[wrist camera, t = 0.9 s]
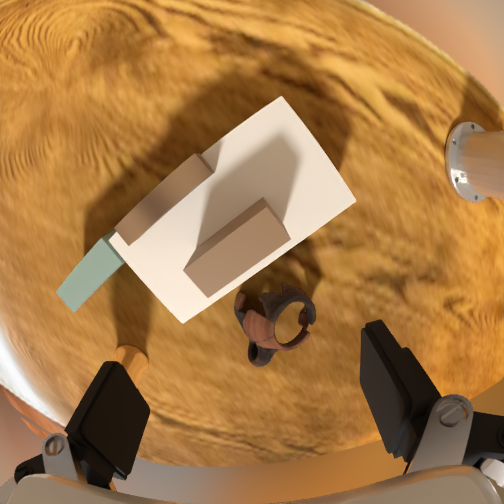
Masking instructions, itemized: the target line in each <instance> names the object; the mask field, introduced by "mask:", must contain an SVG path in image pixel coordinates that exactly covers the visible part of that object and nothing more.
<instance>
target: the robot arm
mask: <svg viewBox="0 0 504 504" xmlns="http://www.w3.org/2000/svg"><path fill="white" fill-rule="evenodd" d="M445 162H446V169H447V173H448V177H449V180H450V182H451V185H452V186H453V188H454V190H455V191H456V193H457V194H458V195H459V196H460V197H461V198H463V199H465V200H466V201H470V202H480V201H482V200H484V199H485V198H486V197H487V196H489V197H492V198H496V199H499V200H502V201H504V132H503V131H502V130H500V131H485V130H484V129H483V128H482V127H481V126H480V125H478V124H476V123H474V122H469V121H467V122H461V123H458V124H457V125H456V126H455V127H454V128H453V129H452V130H451V132H450V134H449V136H448V140H447V143H446V150H445ZM360 384H361V387H362V390H363V392H364V395H365V397H366V399H367V402H368V404H369V407H370V409H371V412H372V414H373V417H374V419H375V422H376V425H377V427H378V430H379V432H380V435H381V438H382V440H383V442H384V445H385V448H386V451H387V452H388V453H389V454H390V453H393V455H394V458H398V457H400V456H402V457H403V459H404V461H405V462H407V464H406V467H405V469H404V471H403V473H402V475H401V476H397V477H395V478H391V479H388V480H385V481H381V482H377V483H374V484H370V485H367V486H363V487H360V488H356V489H352V490H348V491H344V492H340V493H335V494H330V495H325V496H320V497H315V498H309V499H303V500H296V501H289V502H280V503H270V504H502V501H501V499H500V498H499V496H498V494H497V492H496V490H495V488H494V487H493V485H492V484H491V482H490V481H489V479H488V478H492V479H494V480H496V481H497V485H499V486H501V487H502V488H503V489H504V416H498V415H492V414H486V413H480V412H475V411H473V407H472V404H471V402H470V401H469V400H468V399H467V398H465V397H464V396H461V395H458V394H450V395H446V396H444V397H442V396H441V395H440V393H439V392H438V390H437V389H436V387H435V386H434V384H433V383H432V381H431V379H430V378H429V376H428V375H427V374H426V372H425V371H424V369H423V368H422V366H421V365H420V363H419V362H418V360H417V359H416V357H415V356H414V355H413V353H412V352H411V350H410V349H409V348H407V347H405V348H401V347H400V345H399V344H398V342H397V341H396V339H395V338H394V337H393V335H392V334H391V332H390V331H389V329H388V328H387V327H386V325H385V324H384V322H383V321H382V320H376V321H373V322H369V323H366V325H365V328H362V329H361V360H360ZM149 415H150V408H149V406H148V404H147V403H146V401H145V400H144V398H143V397H142V395H141V394H140V392H139V390H138V389H137V387H136V386H135V384H134V383H133V381H132V379H131V378H130V376H129V374H128V373H127V371H126V369H125V368H124V366H123V365H122V364H120V363H119V362H118V361H106V362H104V363H103V365H102V366H101V368H100V370H99V371H98V373H97V374H96V376H95V378H94V379H93V381H92V383H91V384H90V386H89V388H88V389H87V391H86V393H85V395H84V396H83V398H82V400H81V401H80V403H79V405H78V407H77V408H76V410H75V412H74V414H73V415H72V417H71V419H70V421H69V423H68V425H67V426H66V428H65V430H64V431H65V432H66V433H67V434H68V436H67V437H66V436H65V435H64V434H62V433H54V434H51V435H50V436H48V437H47V438H46V439H45V441H44V442H43V446H42V454H40V455H38V456H36V457H33V458H31V459H29V460H27V461H25V462H22V463H21V464H19V465H18V466H17V467H16V470H15V473H14V477H12V478H10V479H9V480H8V481H7V482H6V483H4V484H3V485H2V486H1V487H0V504H188V503H178V502H169V501H162V500H156V499H149V498H143V497H138V496H133V495H129V494H124V493H120V492H117V490H116V488H115V486H114V484H113V482H112V477H115V478H117V479H121V480H126V479H127V475H129V474H130V473H131V470H132V467H133V464H134V461H135V457H136V454H137V451H138V448H139V445H140V442H141V439H142V436H143V433H144V430H145V427H146V424H147V421H148V418H149Z"/></svg>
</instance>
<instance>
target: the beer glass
mask: <svg viewBox="0 0 504 504" xmlns="http://www.w3.org/2000/svg"><path fill="white" fill-rule="evenodd" d="M113 361H118V362H119V363H120V364H122V365H123V366H124V368H125V369H126V371H127V373H128V374H129V376H130V378H131V379H132V381H133V383H134V384H135V386H136V387H137V389H138V385H139V381H140V379H141V377H142V375H143V374H144V373H145V371H146V370H147V369H148V366H149V362H148V359H147V357H146V355H145V354H144V353H143V352H142V351H141V350H139V349H138V348H136V347H134V346H131V345H122V346H120V347H118V349H117V350H116V353H115V356H114V359H113Z"/></svg>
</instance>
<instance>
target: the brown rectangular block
mask: <svg viewBox="0 0 504 504" xmlns="http://www.w3.org/2000/svg"><path fill="white" fill-rule="evenodd" d="M214 173H215V171H214V170H213V169H212V168H211V166H210V165H209V164H208V163H207V161H206V160H205V159H204V158H203V157H202V155H201V154H199V153H194V154H193V155H192V156H190V157H189V158H188V159H187V160H186V161H185V162H183V163H182V164H181V165H180V166H179V167H178V168H176V169H175V170H174V171H173V172H172V173H171V174H170V175H168V176H167V177H166V178H165V179H164V180H163V181H162V182H161V183H159V184H158V185H157V186H156V187H155V188H154V189H153V190H152V191H151V192H150V193H149V194H148V195H147V196H146V197H144V198H143V199H142V200H141V201H140V202H139V203H138V204H137V205H136V206H135V207H134V208H133V209H132V210H131V211H130V212H129V213H128V214H127V215H126V216H125V217H124V218H123V219H122V220H121V221H120V222H119V223H118V224H117V225H116V226H115V227H114V229H115V230H116V231H117V233H118V234H119V235H120V236H121V238H122V239H123V240H124V241H125V242H126V244H127V245H128V246H130V245H131V244H132V243H133V242H135V241H136V240H137V239H139V238H140V237H141V236H142V235H143V234H144V233H145V232H146V231H147V230H148V229H149V228H150V227H152V226H153V225H154V224H155V223H156V222H157V221H158V220H159V219H160V218H162V217H163V216H164V215H165V214H166V213H167V212H168V211H169V210H171V209H172V208H173V207H174V206H175V205H176V204H177V203H179V202H180V201H181V200H182V199H183V198H184V197H186V196H187V195H188V194H189V193H190V192H192V191H193V190H194V189H195V188H196V187H198V186H199V185H200V184H201V183H203V182H204V181H205V180H206V179H207V178H209V177H210V176H211V175H212V174H214Z"/></svg>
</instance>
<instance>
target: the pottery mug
mask: <svg viewBox="0 0 504 504" xmlns="http://www.w3.org/2000/svg"><path fill="white" fill-rule="evenodd" d="M281 285H282V288H283V289H282V291H283V292H282V293H283V294H282V295H280V294H278V293H267V292H265V293H263V294H262V295H260V296H259V300H260V301H261V302H263V307H264V309H265V314H266V316H263V315H261V314H259V313H257V312H256V311H255V310H248V311H247V313H244V312H243V311H242V307H243V304H244V301H245V299H246V295H245V294H243V293H242V292H241V291H240V292H239V293H238V295H237V296H236V299H235V306H234V311H235V315H236V317H237V319H238V321H239V322H240V324H241V327H242V328H243V331H244V332H245V334H246V335H247V337H248V338H249V347H248V358H249V361H250V362H251V363H252V364H253V365H255V366H257V367H259V366H265V365H266V364H268V363H269V362H270V360H271V358H272V356H273V355H274V353H275V352H277V351H278V350H281V351H289V350H292V349H295V348H297V347H298V346H300V345H301V344H302V343H303V342H304V341H305V340H306V339H307V338H308V337H309V335H310V333H309V332H308V331H307V330H306V329H307V327H308V325H309V324H311V325H313V323H314V322H315V320H316V309H315V306H314V304H313V302H312V301H311V300H310V299H309V298H308V297H307V295H306V293H305V292H303V291H302V290H301V289H300V288H296V287H293V286H290V285H288V284H286V283H283V282H282V283H281ZM297 301H301V302H303V303H304V304H305V305H306V312H303V313H300V314H299V320H298V323H299V325H302V326H303V328H302V330H301V331H300V333H299V334H298V335H297V336H296V337H295V338H294V339H293V340H292V341H290V342H288V343H285V344H282V343H279V342H278V341H277V339H276V337H275V332H274V330H275V322H276V320H277V318H278V316H279V314H280V313H281V311H282V310H283V309H284V308H285V307H286V306H288V305H289V304H291V303H292V302H297Z"/></svg>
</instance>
